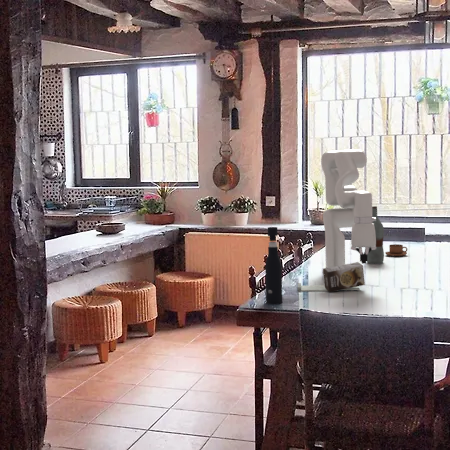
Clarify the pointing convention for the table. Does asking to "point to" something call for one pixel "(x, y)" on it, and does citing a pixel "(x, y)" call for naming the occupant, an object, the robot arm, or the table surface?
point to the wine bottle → (273, 270)
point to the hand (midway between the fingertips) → (363, 263)
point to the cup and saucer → (396, 250)
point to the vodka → (377, 241)
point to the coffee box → (343, 276)
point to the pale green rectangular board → (319, 288)
